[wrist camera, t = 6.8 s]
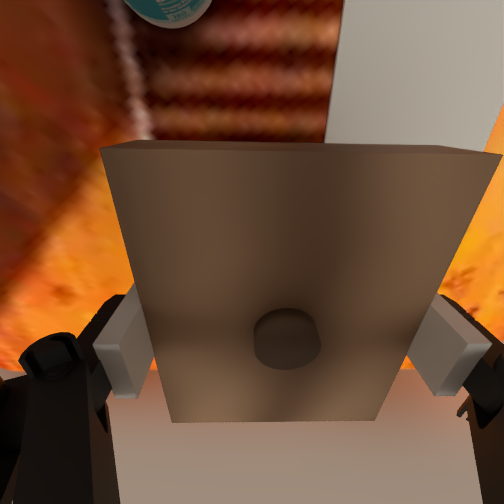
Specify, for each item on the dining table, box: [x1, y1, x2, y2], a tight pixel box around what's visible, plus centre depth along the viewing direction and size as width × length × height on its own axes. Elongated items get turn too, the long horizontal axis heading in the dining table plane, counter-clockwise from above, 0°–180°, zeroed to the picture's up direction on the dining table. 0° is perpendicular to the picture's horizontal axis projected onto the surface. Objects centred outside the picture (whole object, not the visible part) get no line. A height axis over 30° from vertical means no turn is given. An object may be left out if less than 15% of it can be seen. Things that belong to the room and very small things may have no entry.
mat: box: [324, 0, 504, 152], centre depth 18 cm, size 14×16×1 cm
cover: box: [99, 140, 503, 423], centre depth 10 cm, size 10×13×3 cm
